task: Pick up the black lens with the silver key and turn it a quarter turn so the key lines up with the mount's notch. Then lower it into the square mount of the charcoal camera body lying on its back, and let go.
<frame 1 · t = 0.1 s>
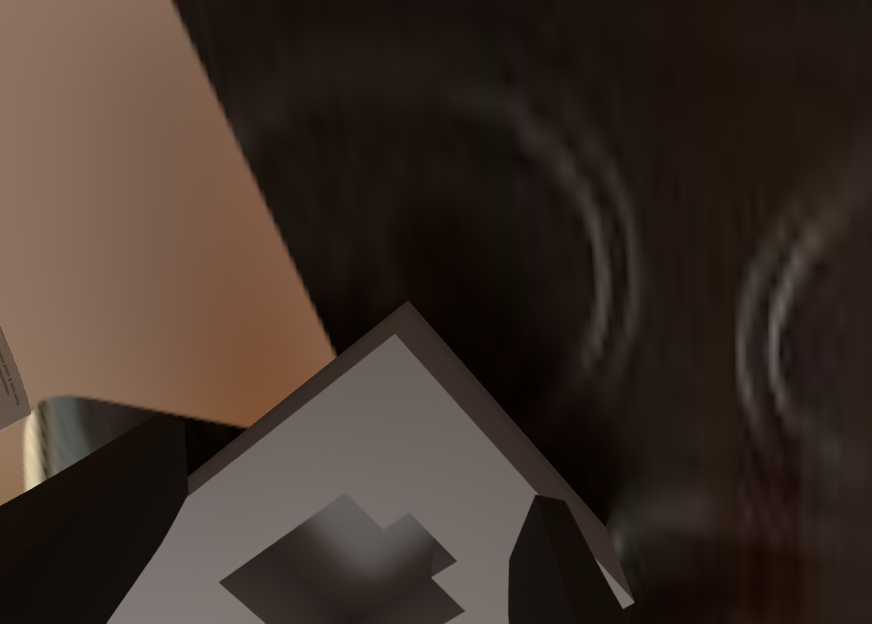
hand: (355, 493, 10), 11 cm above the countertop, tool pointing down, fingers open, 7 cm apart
camera body: (361, 524, 23), on the countertop
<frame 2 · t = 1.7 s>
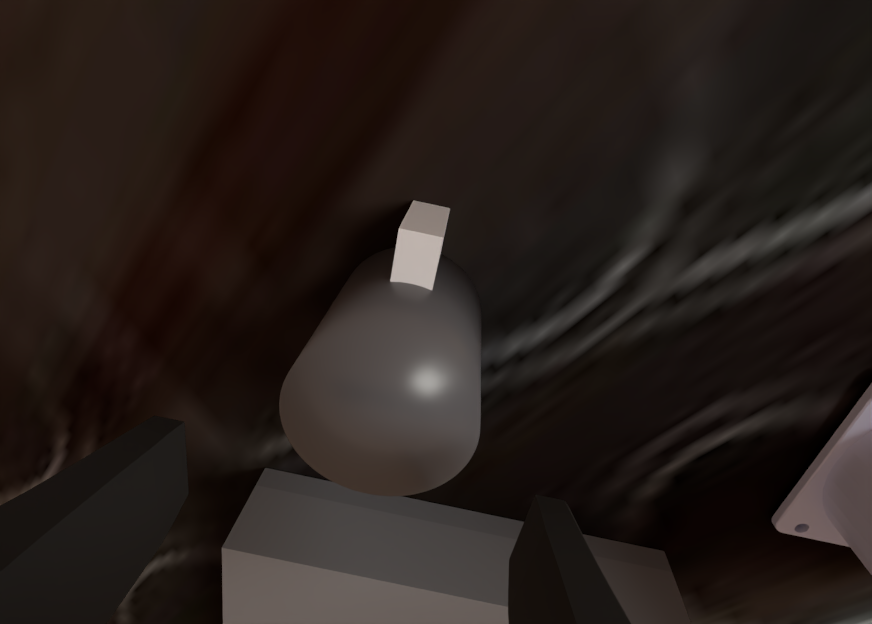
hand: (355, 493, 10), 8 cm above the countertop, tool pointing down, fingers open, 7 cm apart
lens: (410, 313, 17), on the countertop
camera body: (435, 604, 25), on the countertop
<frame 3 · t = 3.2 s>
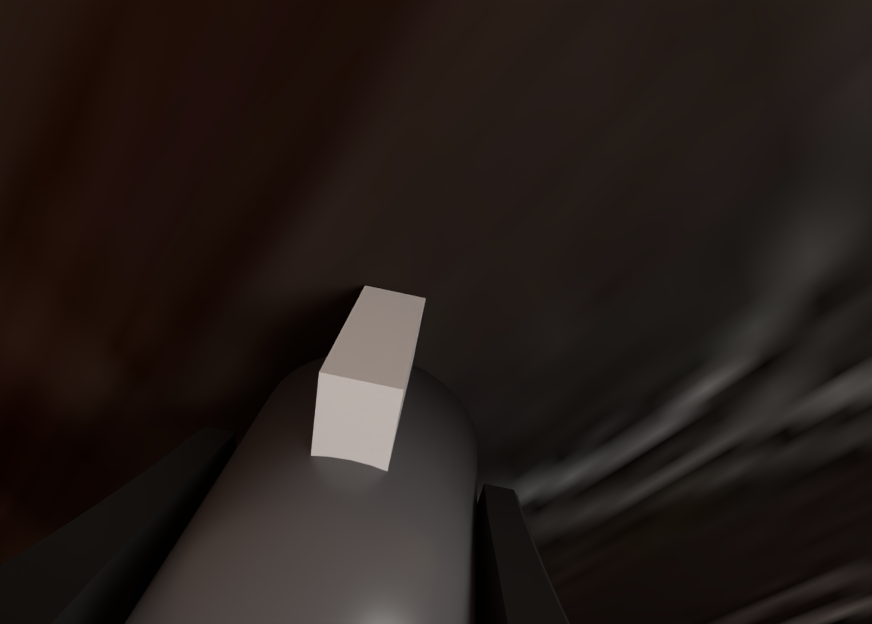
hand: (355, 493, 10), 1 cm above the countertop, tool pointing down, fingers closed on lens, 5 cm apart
lens: (369, 445, 11), on the countertop, touching gripper
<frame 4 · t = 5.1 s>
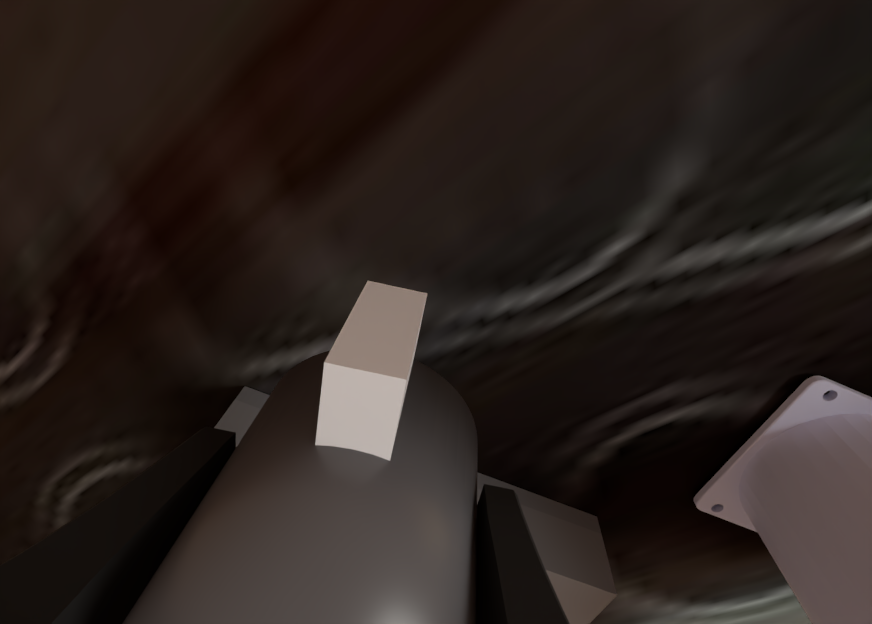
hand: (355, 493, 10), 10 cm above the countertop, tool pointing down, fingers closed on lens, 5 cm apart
lens: (370, 439, 11), point 9 cm above the countertop, touching gripper
camera body: (379, 543, 26), on the countertop
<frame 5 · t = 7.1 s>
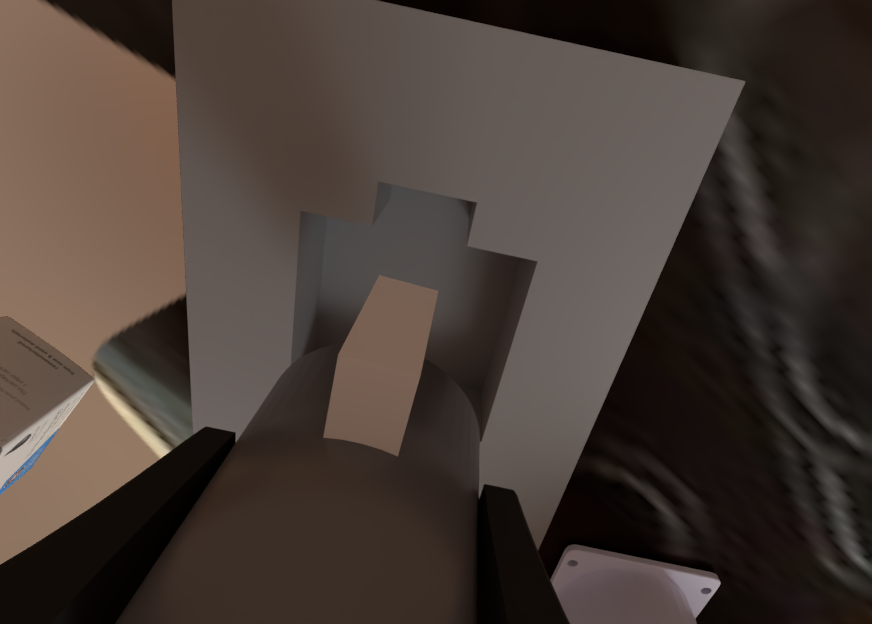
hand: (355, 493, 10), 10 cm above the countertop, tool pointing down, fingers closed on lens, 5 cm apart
lens: (372, 434, 11), point 9 cm above the countertop, touching gripper
camera body: (415, 288, 19), on the countertop
ink box: (20, 392, 24), on the countertop
when the fingers open (5 cm above the countertop, at t = 9.4 s): lens drops 2 cm, resting on camera body.
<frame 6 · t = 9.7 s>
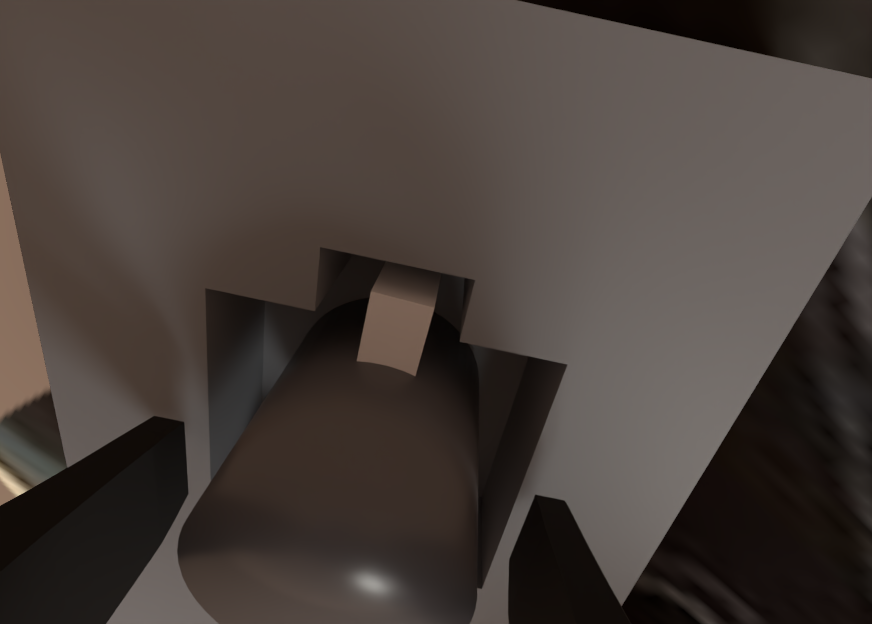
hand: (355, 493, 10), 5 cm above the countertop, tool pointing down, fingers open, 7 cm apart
lens: (387, 379, 13), point 1 cm above the countertop, touching camera body
camera body: (393, 363, 14), on the countertop
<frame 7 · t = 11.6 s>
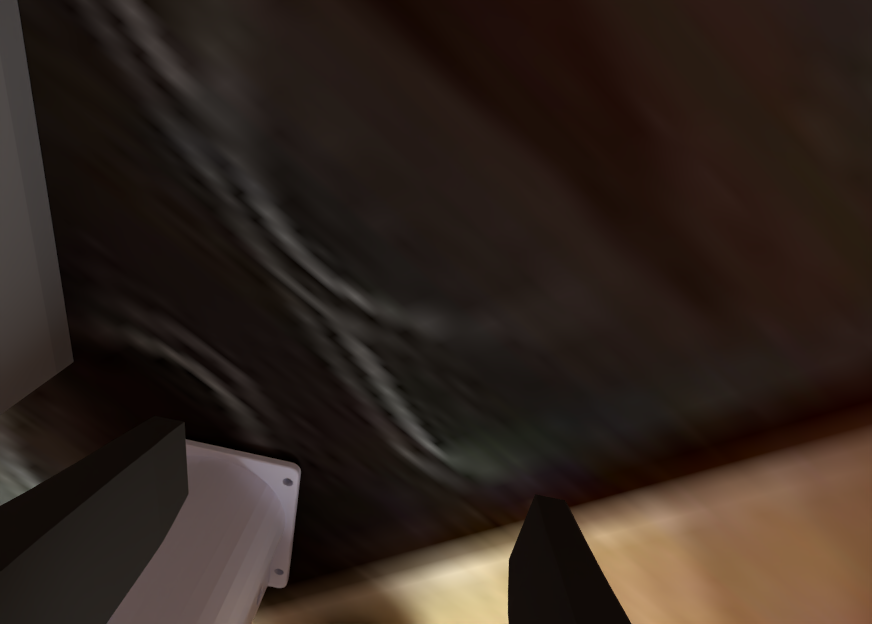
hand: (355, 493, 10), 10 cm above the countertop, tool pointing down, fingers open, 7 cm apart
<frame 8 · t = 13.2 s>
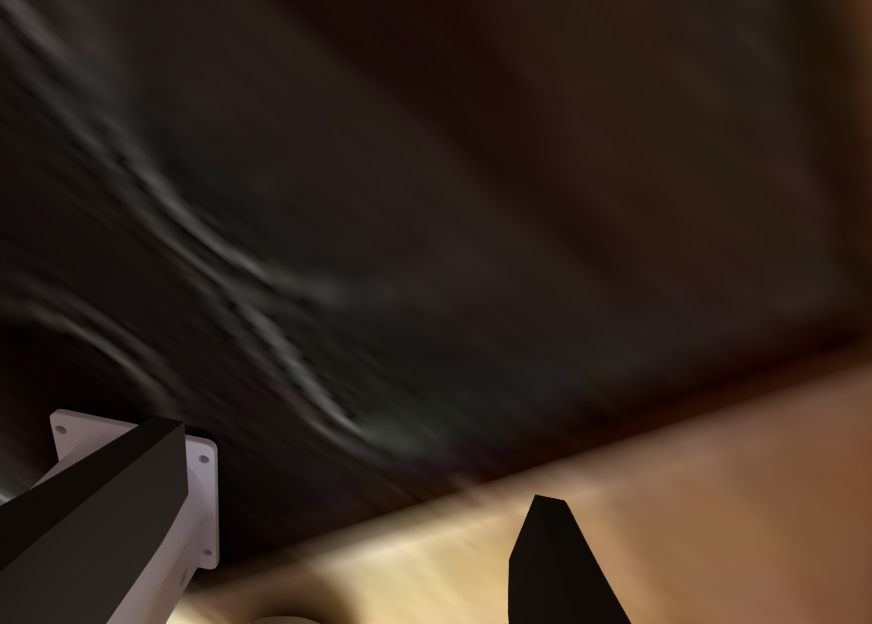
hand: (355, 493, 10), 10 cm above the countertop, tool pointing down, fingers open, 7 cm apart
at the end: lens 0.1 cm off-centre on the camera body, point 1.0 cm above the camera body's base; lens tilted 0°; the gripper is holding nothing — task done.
